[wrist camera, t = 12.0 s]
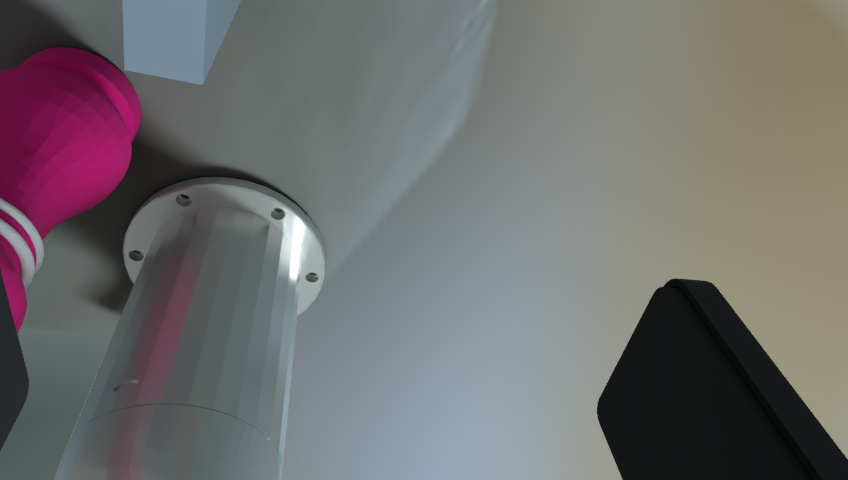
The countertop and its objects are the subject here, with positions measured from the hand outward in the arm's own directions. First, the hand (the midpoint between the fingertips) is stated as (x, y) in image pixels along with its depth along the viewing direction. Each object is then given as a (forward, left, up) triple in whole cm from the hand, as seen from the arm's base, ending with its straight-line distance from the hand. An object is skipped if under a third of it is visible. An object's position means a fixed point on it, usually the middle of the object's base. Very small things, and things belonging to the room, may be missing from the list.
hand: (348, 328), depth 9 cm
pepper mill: (-16, +5, -27) cm, 32 cm away
